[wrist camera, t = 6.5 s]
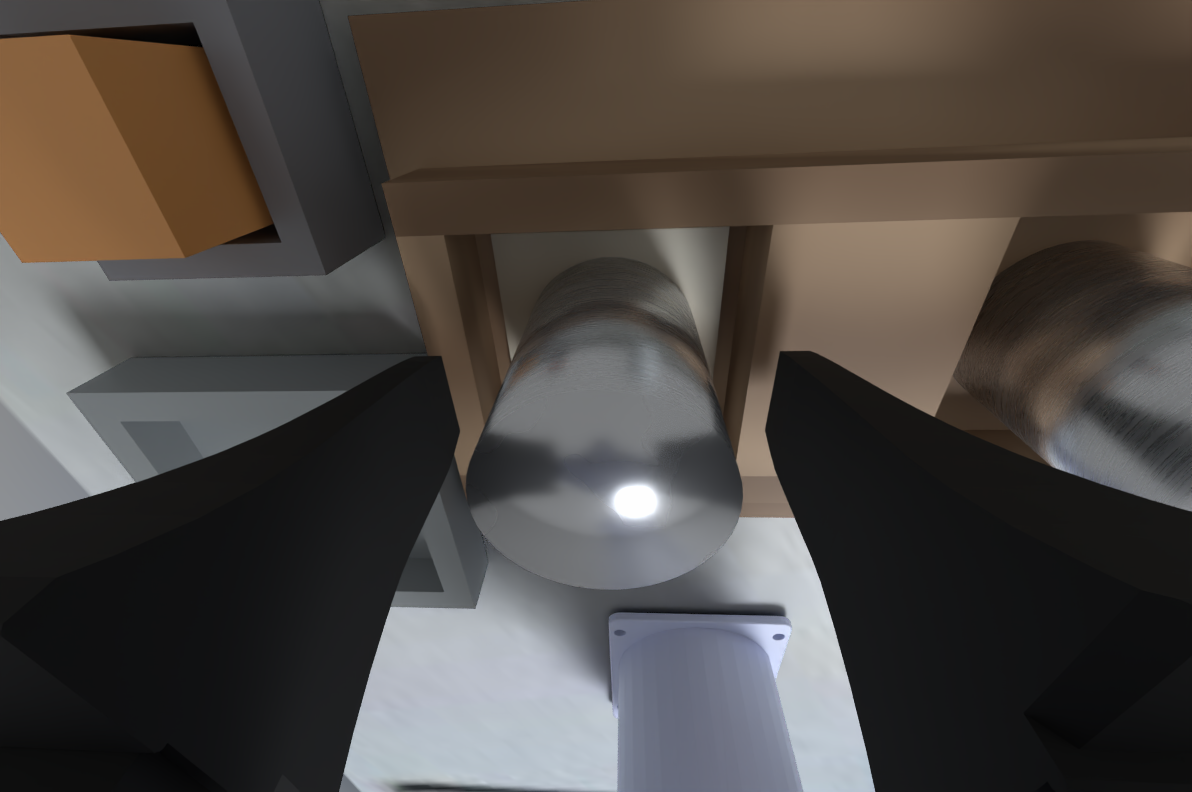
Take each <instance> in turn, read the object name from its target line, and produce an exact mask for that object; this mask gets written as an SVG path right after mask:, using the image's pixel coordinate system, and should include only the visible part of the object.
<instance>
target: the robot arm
mask: <svg viewBox="0 0 1192 792" xmlns="http://www.w3.org/2000/svg"><path fill="white" fill-rule="evenodd" d="M765 433H766V437H767V442H768V446H769V450H770V454H771V458H772V461H773V465H774V469H775V472H776V474H777V477H778V479H779V482H780V484H781V486H782V489H783V491H784V494H785V496H786V498H787V501H788V503H789V506H790V508H791V510H792V513H793V515H794V517H795V520H796V522H797V524H798V527H799V529H800V532H801V534H802V536H803V539H804V541H805V543H806V546H807V548H808V550H809V553H810V555H811V557H812V560H813V563H814V565H815V568H816V571H817V573H818V576H819V579H820V581H821V585H822V588H823V591H824V595H825V598H826V601H827V605H828V608H829V611H830V615H831V618H832V621H833V625H834V628H835V632H836V635H837V639H838V642H839V646H840V650H841V653H842V657H843V661H844V664H845V668H846V672H847V675H848V679H849V683H850V686H851V691H852V695H853V699H854V703H855V707H856V711H857V715H858V719H859V723H860V727H861V731H862V735H863V739H864V743H865V747H866V751H867V756H868V760H869V765H870V769H871V774H872V779H873V783H874V788H875V792H1192V512H1191V511H1188V510H1184V509H1181V508H1177V507H1174V506H1170V505H1167V504H1164V503H1160V502H1157V501H1153V500H1150V499H1147V498H1143V497H1140V496H1137V495H1134V494H1131V493H1128V492H1124V491H1121V490H1118V489H1115V488H1112V487H1109V486H1106V485H1103V484H1100V483H1097V482H1094V481H1091V480H1088V479H1085V478H1082V477H1080V476H1077V475H1074V474H1071V473H1068V472H1065V471H1062V470H1060V469H1057V468H1054V467H1051V466H1048V465H1045V464H1043V463H1040V462H1037V461H1035V460H1032V459H1030V458H1027V457H1024V456H1022V455H1019V454H1017V453H1014V452H1012V451H1009V450H1007V449H1005V448H1002V447H1000V446H997V445H995V444H993V443H990V442H988V441H986V440H983V439H981V438H978V437H976V436H974V435H971V434H969V433H967V432H965V431H963V430H960V429H958V428H956V427H954V426H952V425H950V424H948V423H946V422H944V421H942V420H939V419H937V418H935V417H933V416H931V415H929V414H927V413H925V412H923V411H921V410H919V409H917V408H915V407H914V406H912V405H910V404H908V403H906V402H904V401H902V400H900V399H899V398H897V397H895V396H893V395H891V394H889V393H888V392H886V391H884V390H882V389H880V388H879V387H877V386H875V385H873V384H872V383H870V382H868V381H866V380H865V379H863V378H861V377H859V376H858V375H856V374H854V373H852V372H851V371H849V370H847V369H845V368H844V367H842V366H840V365H838V364H836V363H835V362H833V361H831V360H829V359H827V358H825V357H823V356H821V355H819V354H817V353H815V352H812V351H780V353H779V359H778V364H777V369H776V374H775V379H774V385H773V390H772V395H771V400H770V406H769V411H768V416H767V421H766V426H765ZM459 434H460V428H459V424H458V420H457V416H456V412H455V408H454V404H453V400H452V396H451V392H450V388H449V384H448V380H447V376H446V372H445V368H444V364H443V360H442V356H414V357H411V358H409V359H406V360H404V361H402V362H400V363H398V364H396V365H394V366H392V367H390V368H388V369H386V370H384V371H382V372H380V373H379V374H377V375H375V376H373V377H371V378H370V379H368V380H366V381H364V382H362V383H361V384H359V385H357V386H355V387H353V388H352V389H350V390H348V391H346V392H344V393H343V394H341V395H339V396H337V397H335V398H334V399H332V400H330V401H328V402H326V403H324V404H322V405H320V406H318V407H316V408H314V409H312V410H310V411H309V412H307V413H305V414H303V415H301V416H299V417H297V418H295V419H293V420H291V421H289V422H287V423H285V424H283V425H281V426H279V427H277V428H275V429H273V430H270V431H268V432H266V433H264V434H262V435H259V436H257V437H255V438H252V439H250V440H248V441H245V442H243V443H241V444H238V445H236V446H234V447H231V448H229V449H227V450H224V451H222V452H219V453H217V454H214V455H211V456H209V457H206V458H203V459H200V460H198V461H195V462H192V463H189V464H187V465H184V466H181V467H178V468H176V469H173V470H170V471H167V472H165V473H162V474H159V475H156V476H153V477H151V478H148V479H145V480H142V481H139V482H136V483H133V484H129V485H126V486H123V487H120V488H117V489H114V490H110V491H107V492H104V493H101V494H97V495H94V496H91V497H88V498H84V499H80V500H77V501H73V502H70V503H67V504H63V505H60V506H56V507H53V508H49V509H45V510H42V511H38V512H35V513H31V514H27V515H23V516H19V517H15V518H11V519H7V520H3V521H0V792H339V789H340V785H341V781H342V777H343V773H344V769H345V765H346V761H347V757H348V752H349V748H350V744H351V740H352V736H353V732H354V728H355V725H356V721H357V717H358V714H359V710H360V707H361V703H362V699H363V696H364V692H365V689H366V685H367V681H368V678H369V674H370V670H371V667H372V664H373V661H374V657H375V654H376V651H377V648H378V645H379V641H380V638H381V635H382V632H383V628H384V625H385V622H386V619H387V616H388V613H389V610H390V607H391V604H392V601H393V598H394V595H395V592H396V589H397V586H398V584H399V581H400V578H401V575H402V572H403V570H404V567H405V565H406V563H407V560H408V558H409V555H410V553H411V551H412V549H413V547H414V545H415V542H416V540H417V538H418V536H419V534H420V532H421V530H422V528H423V525H424V523H425V521H426V519H427V517H428V515H429V513H430V510H431V508H432V506H433V504H434V502H435V500H436V498H437V495H438V493H439V491H440V489H441V487H442V484H443V482H444V480H445V478H446V476H447V473H448V471H449V469H450V466H451V462H452V459H453V456H454V453H455V449H456V445H457V442H458V438H459ZM791 631H792V626H791V623H790V620H789V619H788V618H786V617H783V616H757V615H713V614H669V613H624V612H619V613H614V614H612V615H611V616H610V617H609V645H610V665H611V685H612V705H613V715H614V717H615V718H617V719H618V787H617V792H803V788H802V784H801V780H800V776H799V772H798V768H797V764H796V760H795V756H794V752H793V749H792V745H791V741H790V737H789V733H788V729H787V725H786V721H785V717H784V713H783V709H782V705H781V701H780V697H779V693H778V689H777V685H776V682H775V681H776V677H777V674H778V671H779V668H780V665H781V662H782V659H783V656H784V653H785V650H786V647H787V644H788V641H789V638H790V634H791Z"/></svg>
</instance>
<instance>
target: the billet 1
mask: <svg viewBox="0 0 1192 792" xmlns="http://www.w3.org/2000/svg"><path fill="white" fill-rule="evenodd" d="M466 496H467V502H468V505H469V509H470V512H471V515H472V517H473V519H474V521H475V523H476V525H477V526H478V528H479V529H480V531H481V532H482V534H483V535H484V536H485V538H486V539H487V540H488V541H489V542H490V543H491V544H492V545H493V546H494V547H495V548H496V549H497V550H498V551H499V552H500V553H502V554H503V555H504V556H505V557H507V558H508V559H509V560H511V561H512V562H514V563H515V564H517V565H519V566H520V567H522V568H524V569H526V570H528V571H529V572H532V573H534V574H536V575H538V576H541V577H543V578H546V579H549V580H552V581H555V582H558V583H562V584H566V585H570V586H576V587H582V588H589V589H601V590H620V589H632V588H639V587H645V586H650V585H654V584H658V583H662V582H665V581H668V580H671V579H673V578H676V577H679V576H681V575H683V574H685V573H687V572H689V571H691V570H693V569H694V568H696V567H698V566H699V565H701V564H703V563H704V562H705V561H706V560H708V559H709V558H710V557H712V556H713V555H714V554H715V553H716V552H717V551H718V550H719V549H720V548H721V547H722V546H723V545H724V543H725V542H726V541H727V539H728V538H729V537H730V535H731V534H732V532H733V530H734V528H735V526H736V524H737V522H738V519H739V516H740V513H741V509H742V501H743V487H742V480H741V476H740V472H739V468H738V465H737V462H736V458H735V455H734V452H733V448H732V445H731V441H730V438H729V435H728V431H727V428H726V425H725V421H724V418H723V415H722V411H721V408H720V405H719V401H718V398H717V394H716V391H715V388H714V384H713V381H712V378H711V374H710V371H709V368H708V364H707V361H706V358H705V354H704V351H703V347H702V344H701V341H700V337H699V334H698V331H697V327H696V324H695V321H694V317H693V314H692V311H691V308H690V306H689V303H688V301H687V299H686V298H685V296H684V294H683V293H682V291H681V290H680V289H679V288H678V286H677V285H676V284H675V283H674V282H673V281H672V280H671V279H670V278H669V277H668V276H667V275H665V274H664V273H662V272H661V271H659V270H658V269H656V268H654V267H652V266H650V265H648V264H646V263H643V262H640V261H637V260H633V259H628V258H622V257H601V258H595V259H590V260H587V261H584V262H581V263H578V264H576V265H574V266H572V267H569V268H567V269H566V270H564V271H563V272H562V273H560V274H559V275H557V276H556V277H555V278H554V279H553V280H552V281H551V282H550V283H549V284H548V285H547V286H546V287H545V289H544V290H543V291H542V293H541V294H540V296H539V298H538V299H537V301H536V304H535V306H534V308H533V311H532V313H531V316H530V318H529V320H528V323H527V325H526V328H525V330H524V332H523V335H522V337H521V340H520V342H519V344H518V347H517V349H516V352H515V354H514V356H513V359H512V361H511V364H510V366H509V368H508V371H507V373H506V376H505V378H504V380H503V383H502V385H501V388H500V390H499V392H498V395H497V397H496V400H495V402H494V404H493V407H492V409H491V412H490V414H489V416H488V419H487V421H486V424H485V426H484V428H483V431H482V433H481V436H480V438H479V440H478V443H477V445H476V448H475V450H474V452H473V455H472V457H471V460H470V462H469V466H468V470H467V474H466Z"/></svg>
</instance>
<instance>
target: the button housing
mask: <svg viewBox="0 0 1192 792" xmlns="http://www.w3.org/2000/svg"><path fill="white" fill-rule="evenodd" d="M53 35H79V36H90V37H100V38H110V39H121V40H131V41H142V42H152V43H162V44H173V45H195V44H202V45H203V48H204V50H205V53H206V55H207V58H208V60H209V63H210V65H211V68H212V70H213V73H214V75H215V78H216V80H217V83H218V85H219V88H220V90H221V93H222V95H223V98H224V100H225V103H226V105H227V108H228V110H229V113H230V115H231V118H232V120H233V123H234V125H235V128H236V130H237V133H238V135H239V138H240V140H241V143H242V145H243V148H244V150H245V153H246V155H247V158H248V160H249V163H250V165H251V168H252V170H253V173H254V175H255V178H256V180H257V182H258V185H259V187H260V190H261V192H262V195H263V197H264V200H265V202H266V205H267V207H268V210H269V212H270V215H271V217H272V220H273V222H274V224H272V225H269V226H267V227H264V228H261V229H259V230H256V231H254V232H251V233H249V234H246V235H243V236H241V237H238V238H236V239H233V240H230V241H228V242H225V243H223V244H220V245H218V246H215V247H212V248H210V249H207V250H205V251H202V252H199V253H197V254H194V255H192V256H189V257H186V258H167V259H133V260H98V261H97V262H98V263H99V265H100V266H101V268H102V270H103V271H104V273H105V274H106V276H107V278H108V279H109V281H117V280H155V279H194V278H232V277H270V276H309V275H327V274H329V273H330V272H332V271H333V270H335V269H337V268H338V267H340V266H341V265H343V264H345V263H346V262H348V261H349V260H351V259H353V258H354V257H356V256H357V255H359V254H361V253H362V252H364V251H365V250H367V249H369V248H370V247H372V246H373V245H375V244H377V243H378V242H380V241H381V240H383V239H385V238H386V237H385V234H384V230H383V227H382V223H381V220H380V216H379V212H378V209H377V205H376V202H375V198H374V195H373V191H372V187H371V184H370V180H369V177H368V173H367V170H366V166H365V163H364V159H363V155H362V152H361V148H360V145H359V141H358V138H357V134H356V131H355V127H354V123H353V120H352V116H351V113H350V109H349V106H348V102H347V99H346V95H345V91H344V88H343V84H342V81H341V77H340V74H339V70H338V67H337V63H336V59H335V56H334V52H333V49H332V45H331V42H330V38H329V34H328V31H327V27H326V24H325V20H324V17H323V13H322V10H321V6H320V2H319V0H0V39H6V38H22V37H38V36H53Z"/></svg>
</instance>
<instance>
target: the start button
mask: <svg viewBox="0 0 1192 792" xmlns="http://www.w3.org/2000/svg"><path fill="white" fill-rule="evenodd" d="M272 224H274V222H273V220H272V217H271V215H270V212H269V210H268V207H267V205H266V202H265V200H264V197H263V195H262V192H261V190H260V187H259V185H258V182H257V180H256V178H255V175H254V173H253V170H252V168H251V165H250V163H249V160H248V158H247V155H246V153H245V150H244V148H243V145H242V143H241V140H240V138H239V135H238V133H237V130H236V128H235V125H234V123H233V120H232V118H231V115H230V113H229V110H228V108H227V105H226V103H225V100H224V98H223V95H222V93H221V90H220V88H219V85H218V83H217V80H216V78H215V75H214V73H213V70H212V68H211V65H210V63H209V60H208V58H207V55H206V53H205V50H204V48H203V47H193V46H183V45H173V44H162V43H152V42H142V41H131V40H121V39H110V38H100V37H90V36H79V35H53V36H38V37H22V38H6V39H0V232H1V234H2V235H3V237H4V238H5V239H6V241H7V242H8V244H9V245H10V246H11V248H12V249H13V251H14V252H15V253H16V255H17V256H18V258H19V259H20V260H21V262H22V263H30V262H64V261H98V260H133V259H167V258H186V257H189V256H192V255H194V254H197V253H199V252H202V251H205V250H207V249H210V248H212V247H215V246H218V245H220V244H223V243H225V242H228V241H230V240H233V239H236V238H238V237H241V236H243V235H246V234H249V233H251V232H254V231H256V230H259V229H261V228H264V227H267V226H269V225H272Z"/></svg>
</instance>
